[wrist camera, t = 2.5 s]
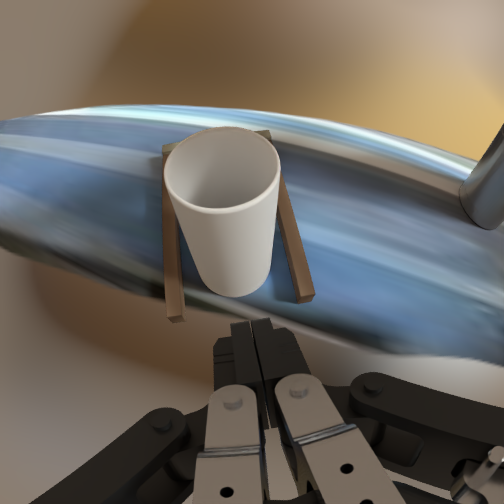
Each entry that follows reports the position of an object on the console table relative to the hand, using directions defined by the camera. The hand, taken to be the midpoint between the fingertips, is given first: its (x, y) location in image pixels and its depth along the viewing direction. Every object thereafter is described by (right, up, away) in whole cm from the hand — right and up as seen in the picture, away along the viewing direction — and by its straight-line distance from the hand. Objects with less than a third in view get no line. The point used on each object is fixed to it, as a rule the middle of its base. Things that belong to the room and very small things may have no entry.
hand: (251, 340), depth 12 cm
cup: (-2, +2, +23) cm, 24 cm away
